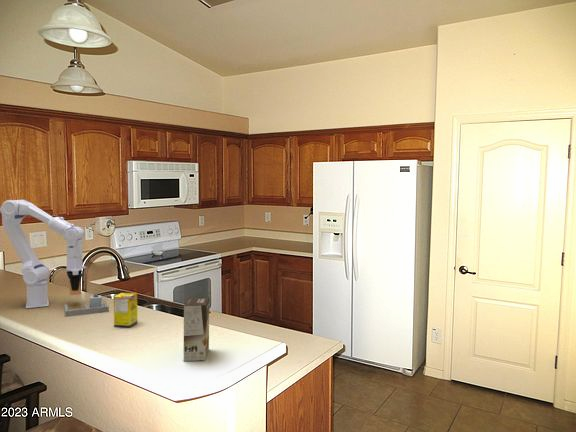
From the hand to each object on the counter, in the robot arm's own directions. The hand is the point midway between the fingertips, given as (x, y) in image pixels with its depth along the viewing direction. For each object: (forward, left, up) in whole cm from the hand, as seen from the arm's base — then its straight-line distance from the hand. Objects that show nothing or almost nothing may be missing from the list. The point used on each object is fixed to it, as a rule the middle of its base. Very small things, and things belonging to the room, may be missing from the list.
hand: (74, 289), depth 172 cm
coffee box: (+73, +29, -7) cm, 79 cm away
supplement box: (+35, +15, -7) cm, 39 cm away
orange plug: (0, 0, -2) cm, 2 cm away
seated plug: (+9, +7, -7) cm, 13 cm away
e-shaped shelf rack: (+9, +4, -7) cm, 12 cm away
